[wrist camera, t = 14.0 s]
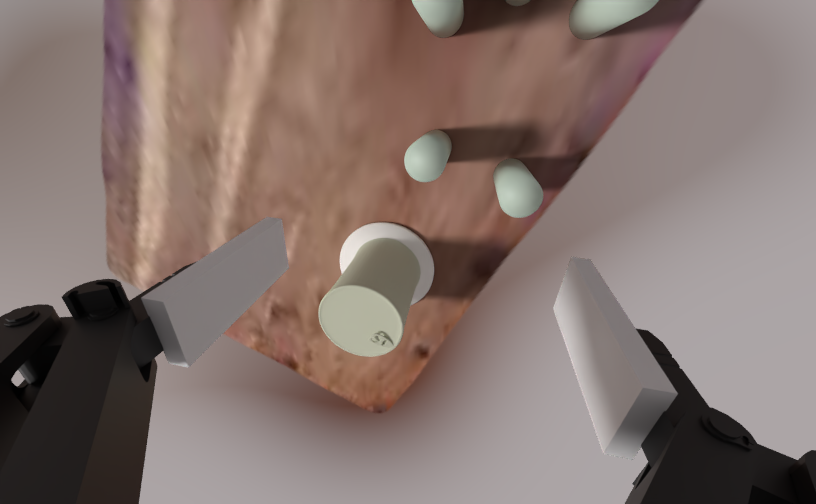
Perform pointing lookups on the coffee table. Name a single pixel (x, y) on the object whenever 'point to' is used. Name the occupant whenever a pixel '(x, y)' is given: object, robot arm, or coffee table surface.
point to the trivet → (397, 234)
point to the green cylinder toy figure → (371, 299)
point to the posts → (516, 187)
